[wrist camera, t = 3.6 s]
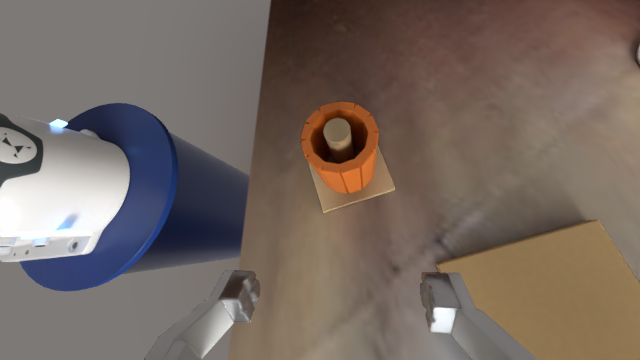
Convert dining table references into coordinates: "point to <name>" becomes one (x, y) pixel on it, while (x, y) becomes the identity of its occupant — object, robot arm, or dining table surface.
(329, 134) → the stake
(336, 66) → the dining table surface
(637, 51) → the wineglass
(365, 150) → the orange ring
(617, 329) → the cork mat
